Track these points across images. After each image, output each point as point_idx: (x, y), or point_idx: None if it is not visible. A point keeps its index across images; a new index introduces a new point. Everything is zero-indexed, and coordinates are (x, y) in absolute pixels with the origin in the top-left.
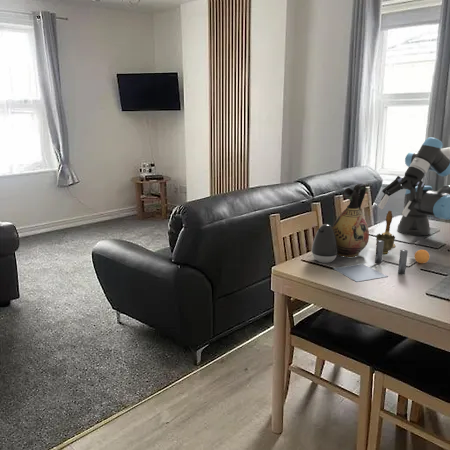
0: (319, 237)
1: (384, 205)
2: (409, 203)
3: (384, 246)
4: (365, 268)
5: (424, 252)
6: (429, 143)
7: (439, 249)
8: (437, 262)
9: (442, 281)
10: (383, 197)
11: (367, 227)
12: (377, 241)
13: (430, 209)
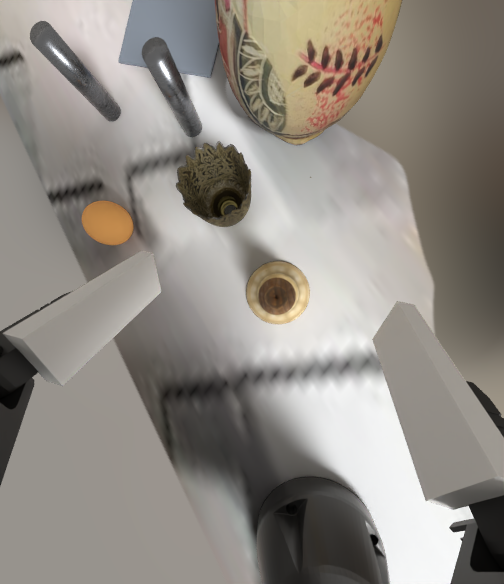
0: None
1: (385, 368)
2: (42, 311)
3: (208, 173)
4: (183, 53)
5: (84, 210)
6: None
7: (155, 392)
8: (102, 272)
9: (34, 154)
10: (479, 404)
11: (223, 3)
12: (159, 38)
13: None
